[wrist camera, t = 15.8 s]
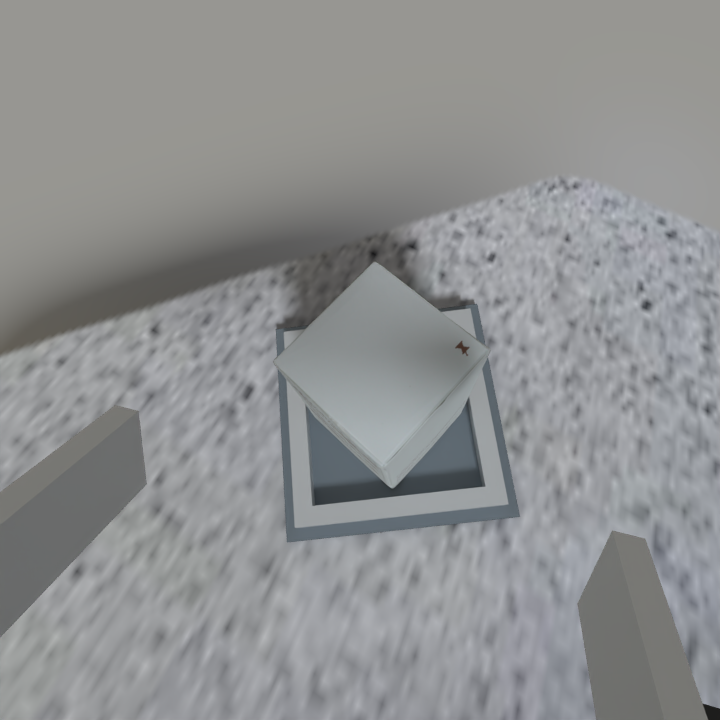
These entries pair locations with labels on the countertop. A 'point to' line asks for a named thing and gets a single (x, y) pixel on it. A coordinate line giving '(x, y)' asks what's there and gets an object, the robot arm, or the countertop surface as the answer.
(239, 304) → the countertop surface
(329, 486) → the slate base tray
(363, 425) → the supplement box
